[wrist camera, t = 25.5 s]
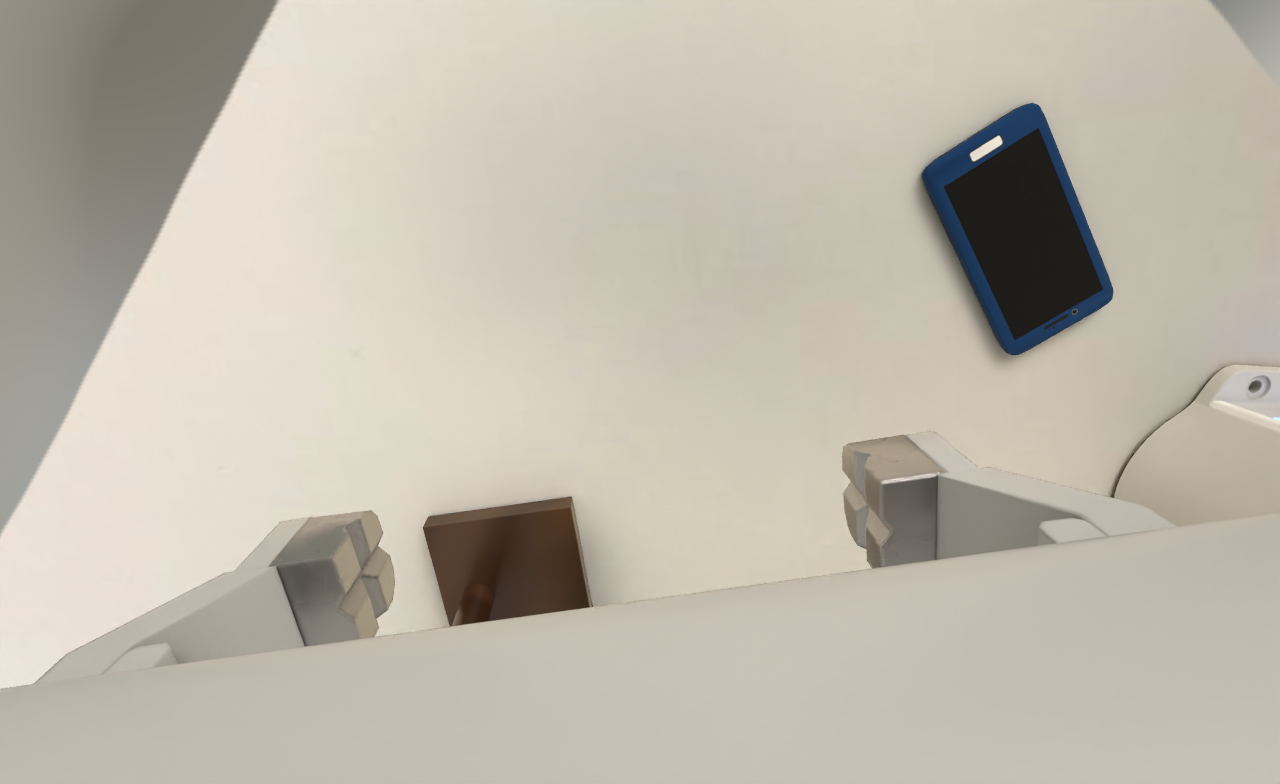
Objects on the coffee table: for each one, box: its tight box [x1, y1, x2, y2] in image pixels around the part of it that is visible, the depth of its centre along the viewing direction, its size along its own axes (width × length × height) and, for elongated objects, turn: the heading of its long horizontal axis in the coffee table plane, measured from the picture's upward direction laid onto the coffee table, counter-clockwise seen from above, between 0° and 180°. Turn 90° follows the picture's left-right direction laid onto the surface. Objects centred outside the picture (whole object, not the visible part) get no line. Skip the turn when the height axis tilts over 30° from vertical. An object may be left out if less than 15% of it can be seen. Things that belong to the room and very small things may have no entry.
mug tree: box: [423, 497, 593, 627], centre depth 36 cm, size 13×13×26 cm
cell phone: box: [922, 103, 1113, 355], centre depth 41 cm, size 7×14×1 cm, turn 33°
